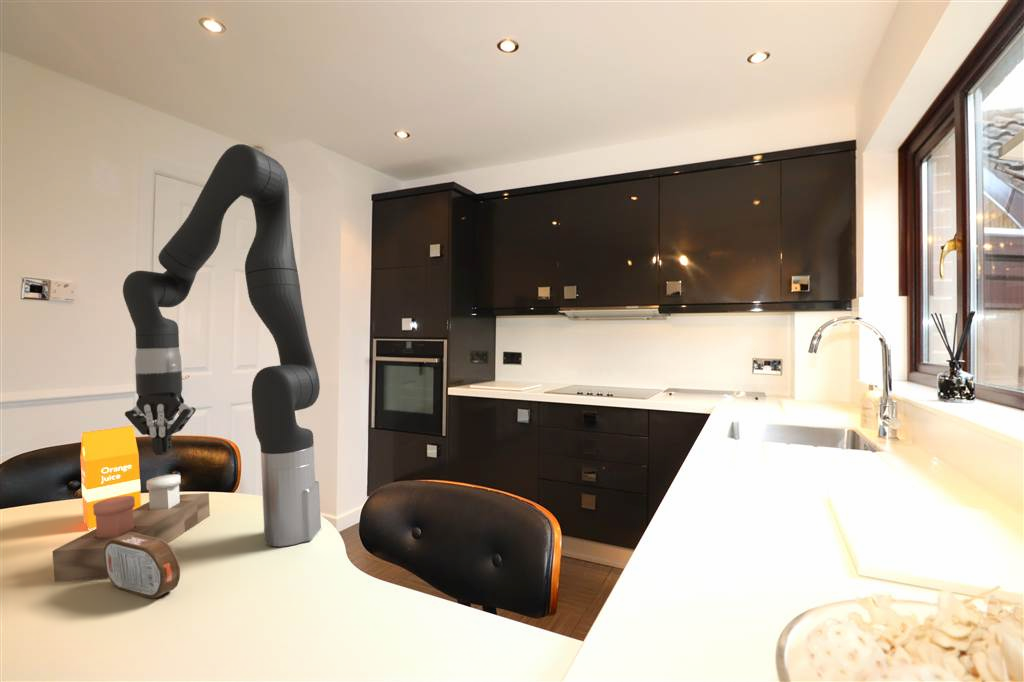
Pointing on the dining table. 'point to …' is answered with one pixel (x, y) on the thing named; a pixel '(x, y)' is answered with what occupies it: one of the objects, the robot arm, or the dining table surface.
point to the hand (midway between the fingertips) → (162, 454)
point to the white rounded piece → (164, 491)
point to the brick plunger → (114, 516)
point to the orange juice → (108, 468)
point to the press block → (166, 524)
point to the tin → (141, 564)
